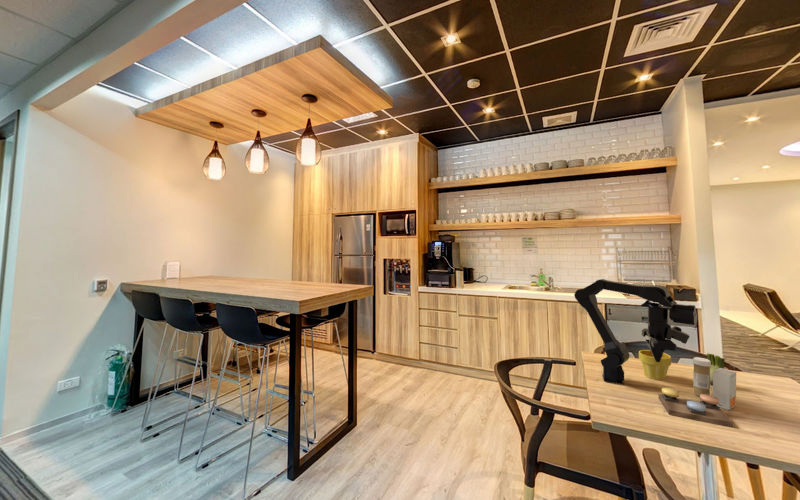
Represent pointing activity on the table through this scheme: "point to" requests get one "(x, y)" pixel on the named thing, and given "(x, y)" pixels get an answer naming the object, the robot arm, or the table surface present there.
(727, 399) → the skincare box
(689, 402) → the slate-blue button
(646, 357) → the plant pot
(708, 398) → the terracotta button
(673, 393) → the ochre button
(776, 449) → the table surface
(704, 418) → the board
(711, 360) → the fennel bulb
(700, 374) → the sprinkles bottle
